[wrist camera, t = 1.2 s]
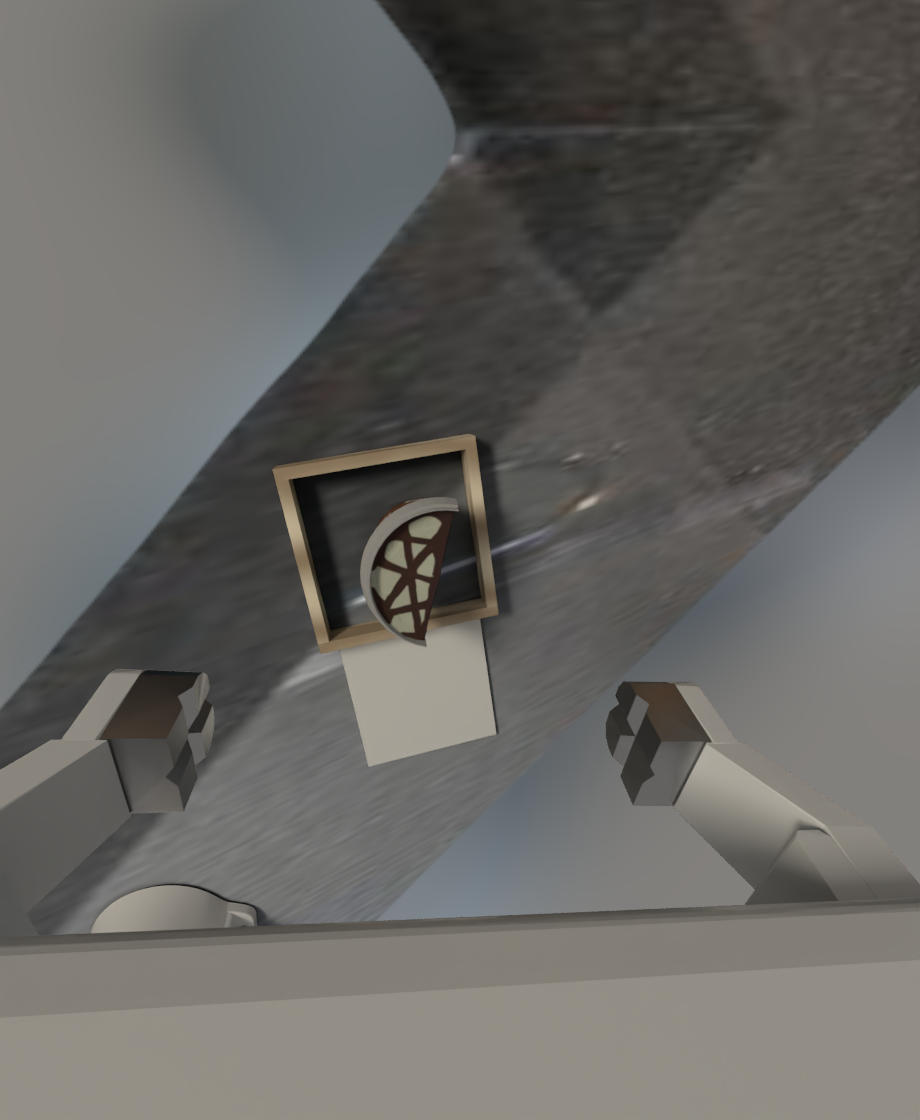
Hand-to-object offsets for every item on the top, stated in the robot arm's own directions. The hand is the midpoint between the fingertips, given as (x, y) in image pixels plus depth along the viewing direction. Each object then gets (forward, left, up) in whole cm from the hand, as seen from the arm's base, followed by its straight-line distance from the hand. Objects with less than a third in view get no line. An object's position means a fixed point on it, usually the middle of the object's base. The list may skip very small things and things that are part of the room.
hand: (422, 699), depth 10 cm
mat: (-23, -1, -38) cm, 44 cm away
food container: (-7, -1, -38) cm, 39 cm away
